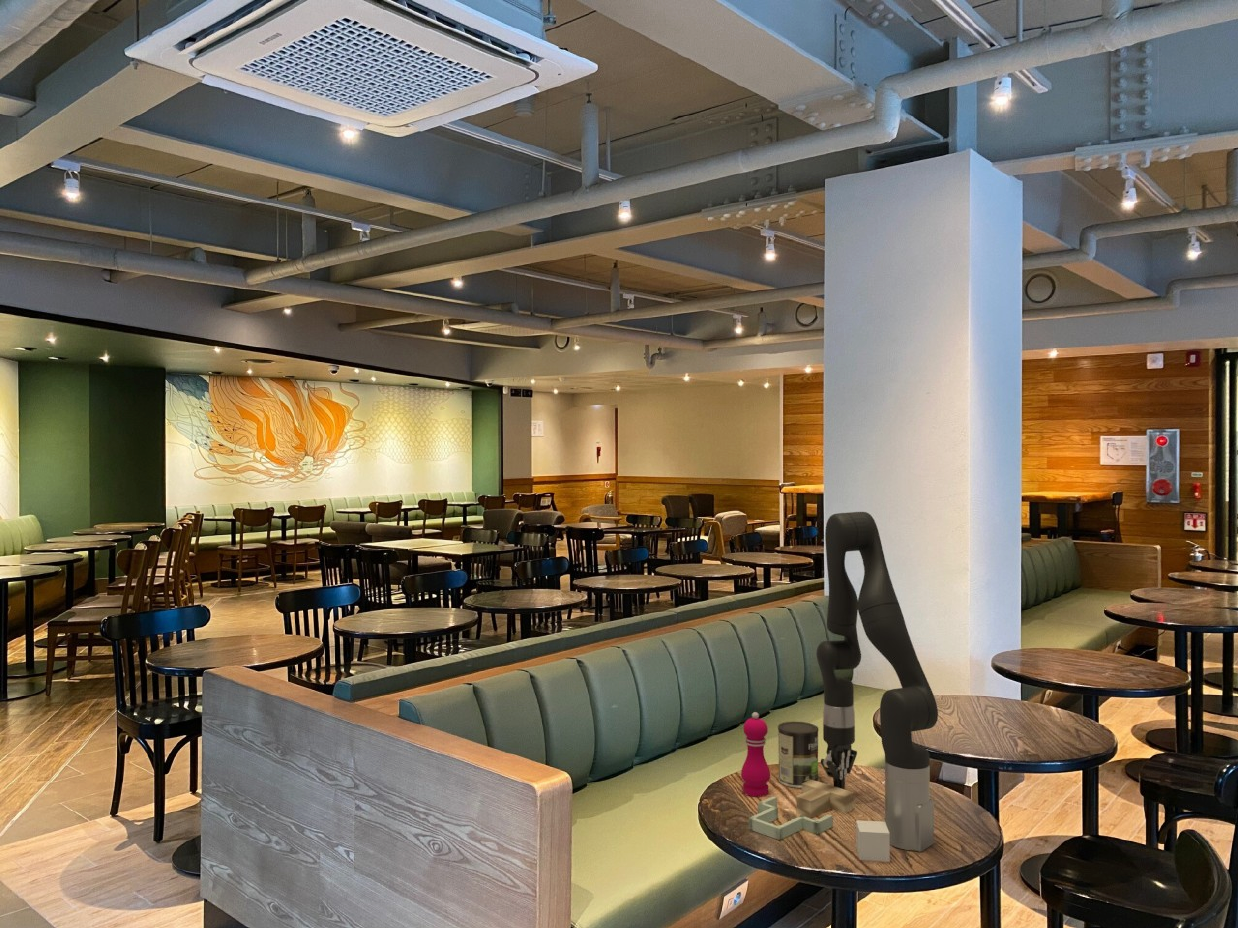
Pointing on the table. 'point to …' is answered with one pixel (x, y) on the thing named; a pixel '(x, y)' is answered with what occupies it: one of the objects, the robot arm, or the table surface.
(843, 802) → the t block
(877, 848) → the beige cube
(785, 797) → the table surface
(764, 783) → the pepper mill
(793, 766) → the coffee can
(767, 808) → the t dock
